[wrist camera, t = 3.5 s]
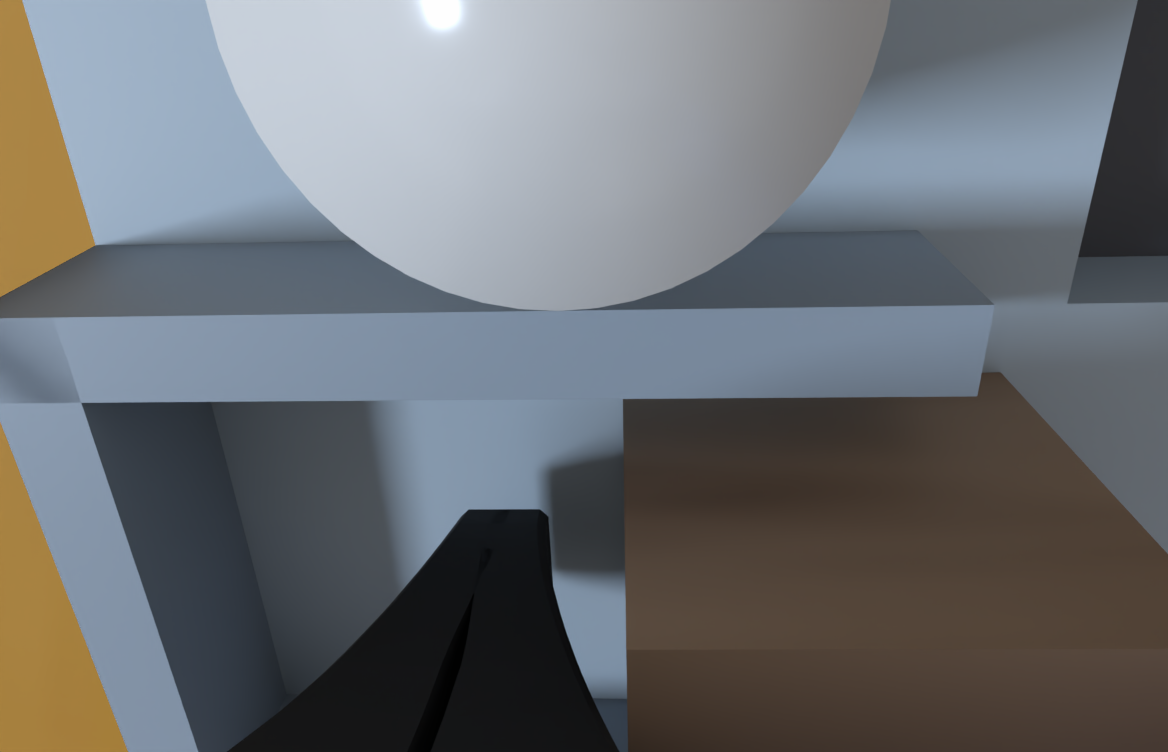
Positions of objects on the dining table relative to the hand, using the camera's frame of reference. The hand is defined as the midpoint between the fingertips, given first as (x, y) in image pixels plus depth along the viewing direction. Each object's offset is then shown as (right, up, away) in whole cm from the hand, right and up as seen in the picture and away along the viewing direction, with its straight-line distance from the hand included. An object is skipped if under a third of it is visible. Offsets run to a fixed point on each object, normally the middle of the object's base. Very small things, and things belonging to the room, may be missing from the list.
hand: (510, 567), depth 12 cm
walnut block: (+4, 0, +1) cm, 4 cm away
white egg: (+1, +7, -3) cm, 8 cm away
